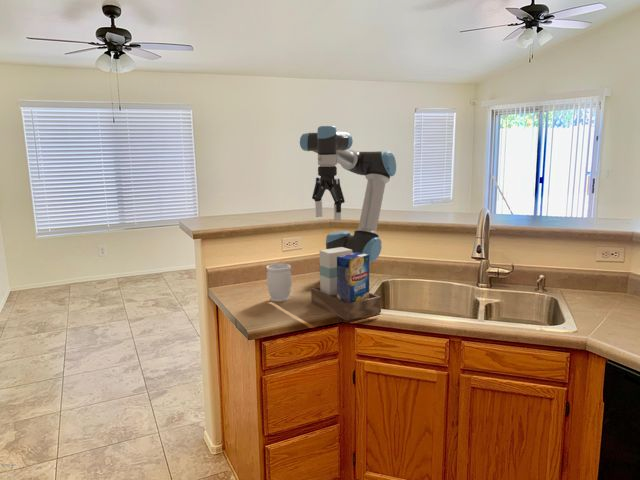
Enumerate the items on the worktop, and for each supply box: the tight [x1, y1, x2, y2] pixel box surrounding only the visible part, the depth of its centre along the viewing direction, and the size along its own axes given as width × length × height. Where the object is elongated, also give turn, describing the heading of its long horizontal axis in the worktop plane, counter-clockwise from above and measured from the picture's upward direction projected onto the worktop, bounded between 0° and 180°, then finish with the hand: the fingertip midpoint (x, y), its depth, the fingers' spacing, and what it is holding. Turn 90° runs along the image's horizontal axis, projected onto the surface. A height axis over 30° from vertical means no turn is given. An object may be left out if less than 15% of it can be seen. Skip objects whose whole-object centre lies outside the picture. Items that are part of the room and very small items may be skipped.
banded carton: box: [319, 247, 352, 295], centre depth 187 cm, size 11×7×22 cm, turn 122°
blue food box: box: [337, 252, 370, 304], centre depth 176 cm, size 7×11×22 cm, turn 135°
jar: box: [266, 262, 293, 304], centre depth 195 cm, size 11×10×15 cm
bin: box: [310, 286, 382, 324], centre depth 183 cm, size 16×25×7 cm, turn 32°
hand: (327, 218), depth 189 cm, fingers open, 13 cm apart
